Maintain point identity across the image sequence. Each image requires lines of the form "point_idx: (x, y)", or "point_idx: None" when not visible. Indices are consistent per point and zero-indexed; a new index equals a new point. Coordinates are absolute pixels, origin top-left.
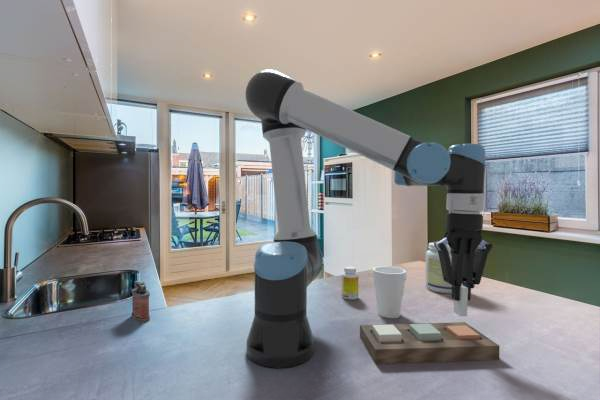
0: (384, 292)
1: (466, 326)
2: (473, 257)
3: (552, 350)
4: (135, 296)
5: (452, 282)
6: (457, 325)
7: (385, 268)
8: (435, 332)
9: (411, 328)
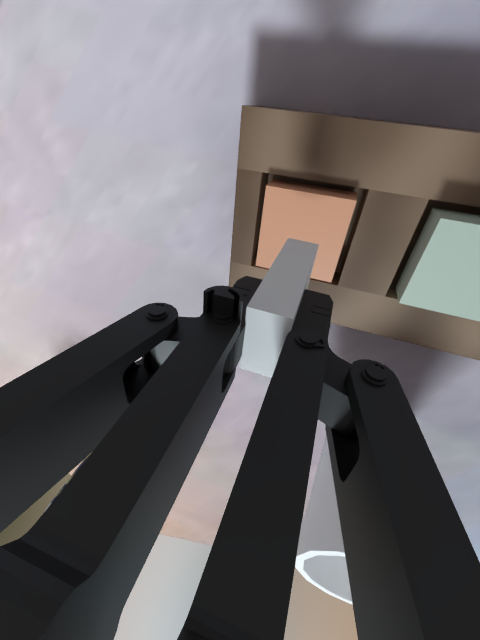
0: None
1: (260, 258)
2: (18, 550)
3: (64, 132)
4: None
5: (371, 369)
6: None
7: (341, 588)
8: (462, 229)
9: None
